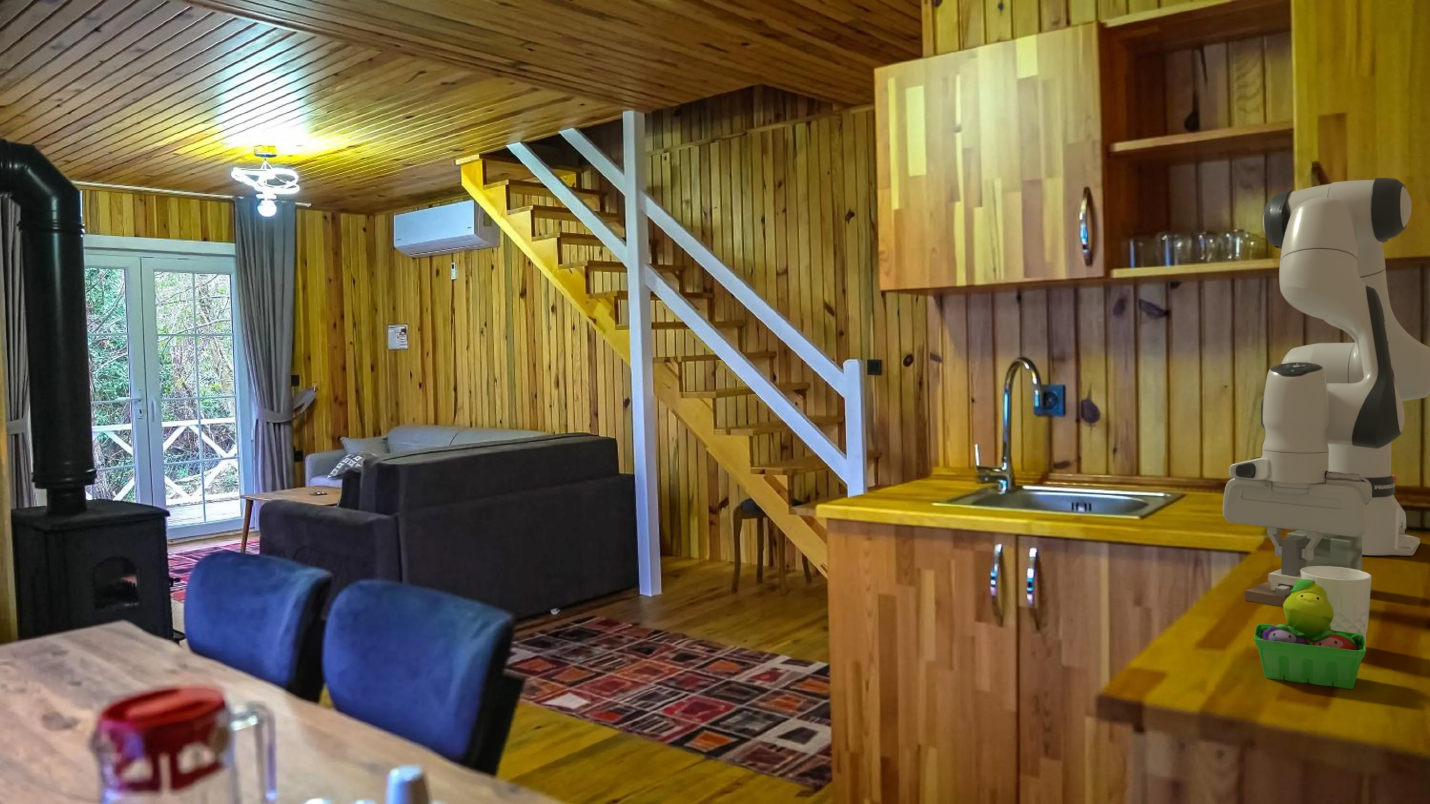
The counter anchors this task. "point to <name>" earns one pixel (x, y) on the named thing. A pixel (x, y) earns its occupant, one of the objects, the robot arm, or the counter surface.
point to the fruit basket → (1309, 642)
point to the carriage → (1289, 563)
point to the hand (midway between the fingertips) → (1293, 558)
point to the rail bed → (1325, 554)
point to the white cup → (1344, 595)
